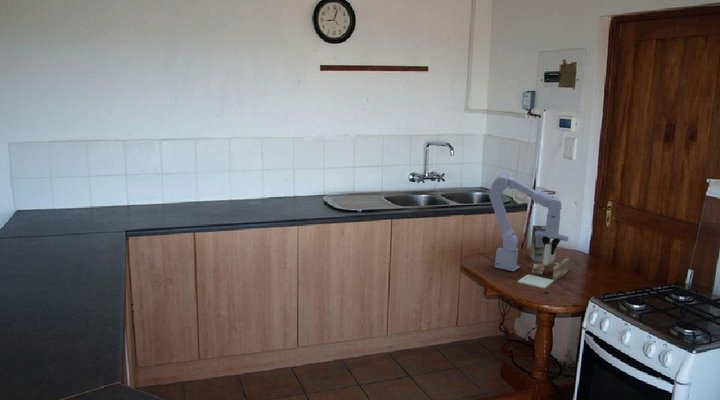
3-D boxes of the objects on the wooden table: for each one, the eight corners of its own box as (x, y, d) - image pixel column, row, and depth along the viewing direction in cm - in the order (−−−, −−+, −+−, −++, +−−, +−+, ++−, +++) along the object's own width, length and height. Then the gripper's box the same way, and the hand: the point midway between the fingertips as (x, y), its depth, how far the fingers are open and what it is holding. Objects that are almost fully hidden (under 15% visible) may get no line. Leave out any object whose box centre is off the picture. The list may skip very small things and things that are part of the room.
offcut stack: (531, 273, 277) (531, 268, 276) (533, 268, 284) (534, 263, 283) (542, 275, 275) (542, 270, 274) (544, 270, 282) (544, 265, 282)
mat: (517, 282, 262) (517, 281, 262) (527, 275, 272) (527, 274, 272) (544, 288, 256) (544, 287, 256) (553, 281, 265) (553, 280, 265)
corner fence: (523, 274, 274) (525, 261, 273) (538, 264, 289) (539, 252, 288) (555, 281, 266) (557, 268, 265) (568, 270, 281) (570, 258, 280)
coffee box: (547, 262, 293) (550, 230, 289) (533, 261, 293) (536, 229, 290) (542, 256, 302) (545, 225, 298) (529, 256, 302) (532, 225, 299)
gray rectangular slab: (543, 264, 272) (544, 244, 270) (550, 259, 280) (552, 240, 278) (547, 265, 271) (549, 245, 269) (554, 259, 279) (556, 241, 277)
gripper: (533, 223, 273) (531, 252, 276) (566, 229, 265) (562, 258, 268) (539, 221, 279) (536, 249, 281) (570, 226, 270) (567, 255, 273)
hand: (549, 253), depth 275 cm, fingers closed on gray rectangular slab, 2 cm apart
